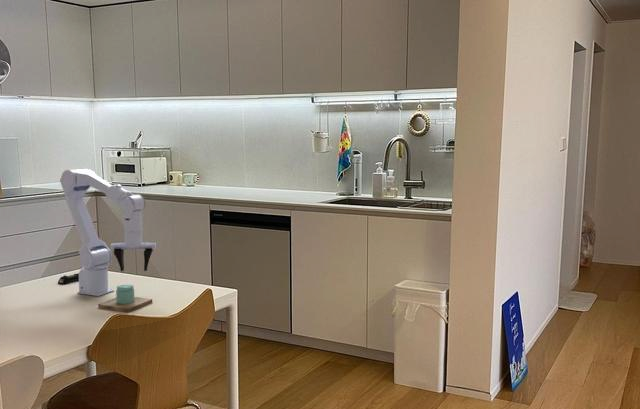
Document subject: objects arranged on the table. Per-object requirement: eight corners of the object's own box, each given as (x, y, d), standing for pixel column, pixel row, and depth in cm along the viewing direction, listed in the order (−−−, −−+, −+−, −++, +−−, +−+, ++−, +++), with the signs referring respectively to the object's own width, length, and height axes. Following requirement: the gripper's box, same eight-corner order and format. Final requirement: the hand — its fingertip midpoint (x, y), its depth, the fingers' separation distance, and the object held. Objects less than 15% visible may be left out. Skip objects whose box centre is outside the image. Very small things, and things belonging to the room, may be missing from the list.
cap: (120, 304, 194) (120, 289, 194) (114, 300, 198) (114, 286, 198) (136, 302, 197) (135, 287, 197) (130, 298, 202) (130, 283, 201)
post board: (98, 307, 195) (97, 293, 194) (123, 298, 206) (123, 284, 205) (128, 312, 190) (128, 298, 190) (152, 302, 201) (152, 288, 201)
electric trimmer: (98, 277, 235) (98, 269, 235) (63, 285, 222) (63, 277, 221) (92, 276, 237) (92, 268, 237) (57, 284, 224) (56, 275, 223)
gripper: (108, 233, 198) (109, 273, 199) (153, 232, 200) (154, 272, 201) (112, 229, 205) (113, 268, 206) (156, 229, 207) (157, 268, 208)
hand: (134, 270), depth 204 cm, fingers open, 7 cm apart
